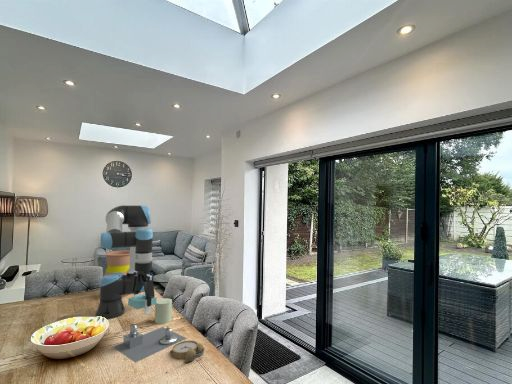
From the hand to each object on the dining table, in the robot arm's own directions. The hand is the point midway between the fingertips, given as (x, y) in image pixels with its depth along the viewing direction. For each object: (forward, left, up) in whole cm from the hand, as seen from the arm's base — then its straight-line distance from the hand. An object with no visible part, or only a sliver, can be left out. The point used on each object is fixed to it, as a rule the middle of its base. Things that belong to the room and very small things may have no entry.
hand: (142, 310), depth 128 cm
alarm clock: (+24, +8, -16) cm, 30 cm away
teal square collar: (0, 0, +3) cm, 3 cm away
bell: (+7, +9, -15) cm, 19 cm away
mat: (+2, +3, -16) cm, 16 cm away
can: (-15, +21, -16) cm, 30 cm away
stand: (-3, -3, -15) cm, 15 cm away
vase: (-81, +30, -16) cm, 88 cm away
